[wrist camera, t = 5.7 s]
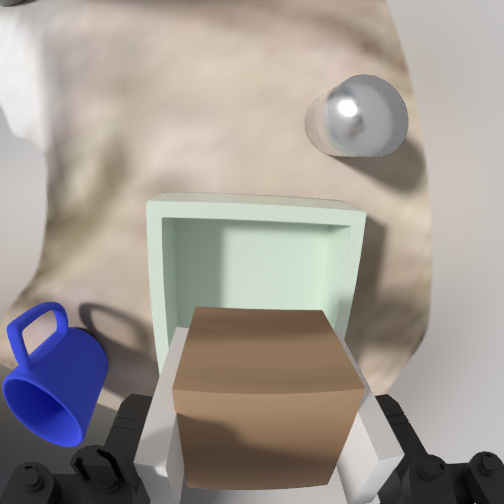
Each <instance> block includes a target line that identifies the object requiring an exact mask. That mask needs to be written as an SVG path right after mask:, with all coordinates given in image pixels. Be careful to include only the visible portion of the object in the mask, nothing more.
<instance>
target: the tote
mask: <svg viewBox="0 0 504 504" xmlns="http://www.w3.org/2000/svg"><path fill="white" fill-rule="evenodd" d="M146 219H147V249H148V268H149V284H150V297H151V308H152V318H153V328H154V337H155V345H156V353H157V361H158V368H159V375H160V374H161V371H162V368H163V365H164V362H165V359H166V356H167V353H168V350H169V347H170V344H171V341H172V339H173V336H174V333H175V330H176V327H181V328H189V327H190V324H191V320H192V317H193V313H194V310H195V307H196V306H199V307H219V308H243V309H280V310H323V312H324V314H325V316H326V317H327V319H328V321H329V323H330V325H331V326H332V328H333V330H334V332H340V334H341V336H342V338H343V339H345V335H346V330H347V326H348V321H349V316H350V311H351V306H352V301H353V296H354V291H355V285H356V280H357V274H358V268H359V262H360V256H361V249H362V242H363V235H364V228H365V220H366V211H364V210H362V209H359V208H357V207H355V206H353V205H351V204H348V203H346V202H344V201H339V200H327V199H314V198H300V197H284V196H267V195H247V194H222V193H182V192H164V193H162V194H160V195H158V196H156V197H154V198H152V199H150V200H148V201H146Z"/></svg>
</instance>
